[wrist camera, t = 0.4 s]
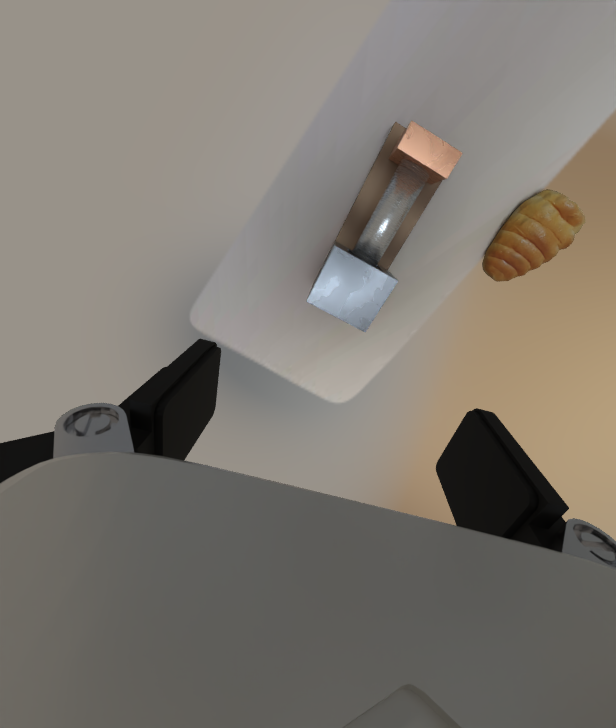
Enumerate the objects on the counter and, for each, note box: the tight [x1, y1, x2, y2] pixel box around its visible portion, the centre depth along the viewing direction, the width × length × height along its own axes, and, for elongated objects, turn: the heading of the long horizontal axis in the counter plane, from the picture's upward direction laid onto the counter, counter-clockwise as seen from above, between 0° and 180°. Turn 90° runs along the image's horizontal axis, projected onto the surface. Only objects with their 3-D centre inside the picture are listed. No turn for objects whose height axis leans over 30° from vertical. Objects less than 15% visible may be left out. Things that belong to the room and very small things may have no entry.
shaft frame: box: [306, 122, 442, 332], centre depth 30 cm, size 18×7×8 cm, turn 153°
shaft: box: [351, 121, 462, 267], centre depth 29 cm, size 13×5×5 cm, turn 153°
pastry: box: [482, 189, 585, 281], centre depth 32 cm, size 9×7×4 cm
